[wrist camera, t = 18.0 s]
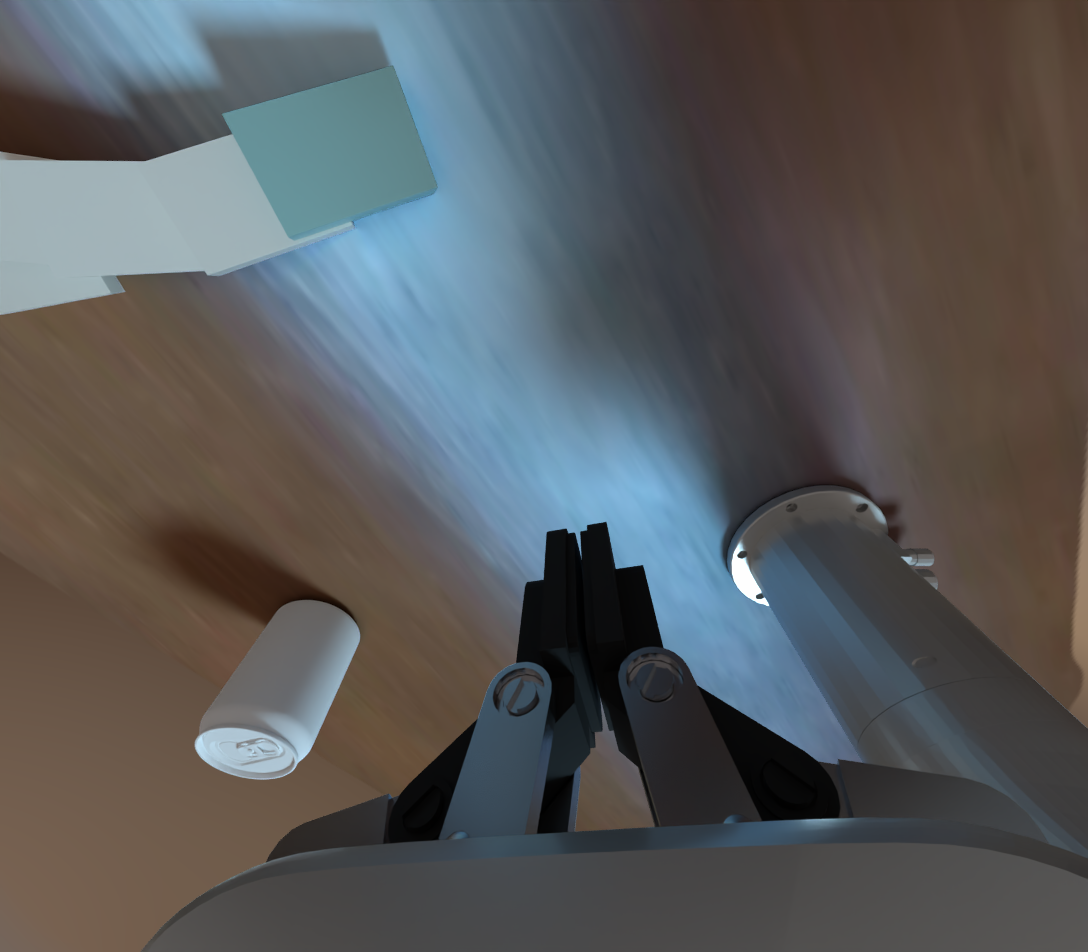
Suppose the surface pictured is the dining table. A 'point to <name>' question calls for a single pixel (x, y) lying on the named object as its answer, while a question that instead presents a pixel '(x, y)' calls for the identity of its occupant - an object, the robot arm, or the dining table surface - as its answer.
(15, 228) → the domino
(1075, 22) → the dining table surface
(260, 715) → the beverage can
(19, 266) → the domino
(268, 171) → the domino
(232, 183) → the domino
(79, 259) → the domino
